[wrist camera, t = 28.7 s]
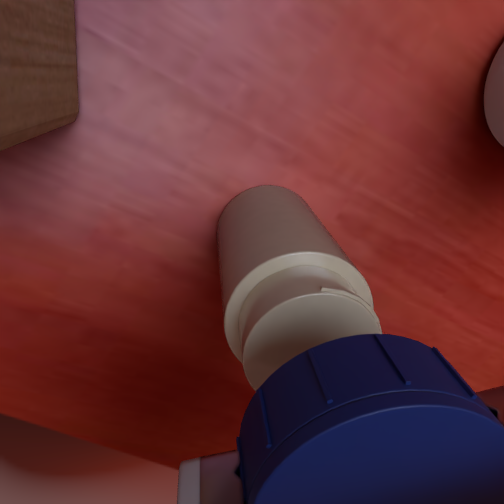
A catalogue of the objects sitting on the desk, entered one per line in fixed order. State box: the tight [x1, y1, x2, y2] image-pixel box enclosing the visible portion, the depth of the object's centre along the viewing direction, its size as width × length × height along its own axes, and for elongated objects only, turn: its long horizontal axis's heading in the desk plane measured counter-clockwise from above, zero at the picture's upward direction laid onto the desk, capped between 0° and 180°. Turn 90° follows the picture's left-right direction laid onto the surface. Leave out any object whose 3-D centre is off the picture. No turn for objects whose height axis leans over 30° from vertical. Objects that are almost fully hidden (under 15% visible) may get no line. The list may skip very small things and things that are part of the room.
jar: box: [217, 185, 382, 391], centre depth 18 cm, size 6×6×11 cm
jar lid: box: [236, 334, 504, 504], centre depth 10 cm, size 6×6×2 cm
